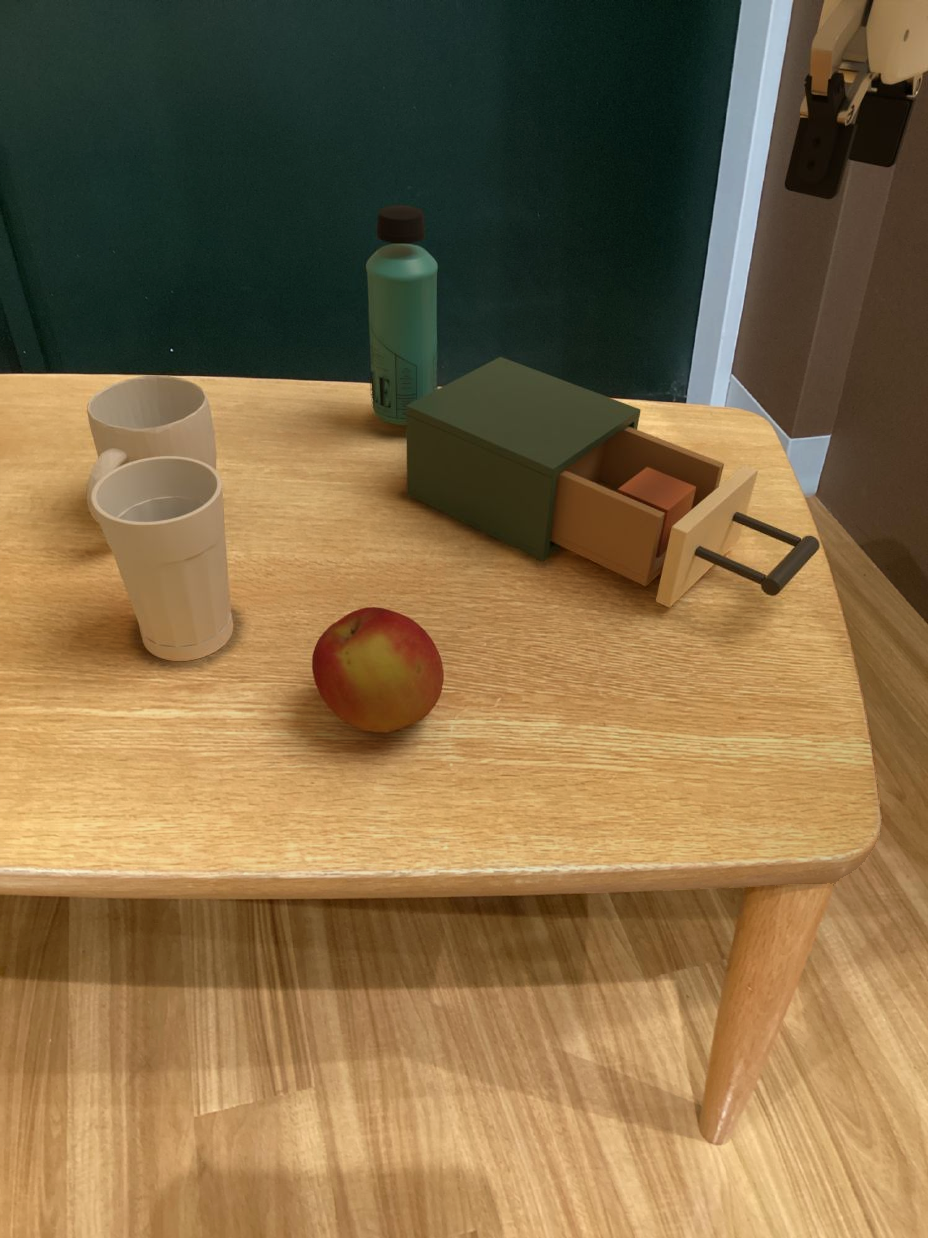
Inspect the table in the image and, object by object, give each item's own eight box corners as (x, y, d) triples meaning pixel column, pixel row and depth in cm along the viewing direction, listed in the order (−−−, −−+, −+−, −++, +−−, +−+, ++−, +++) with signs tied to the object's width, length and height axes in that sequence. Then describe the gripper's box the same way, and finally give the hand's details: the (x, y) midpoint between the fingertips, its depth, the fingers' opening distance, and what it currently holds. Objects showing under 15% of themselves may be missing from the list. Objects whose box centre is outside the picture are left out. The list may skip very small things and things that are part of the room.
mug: (156, 472, 82) (133, 366, 75) (244, 493, 80) (229, 386, 73) (61, 550, 73) (26, 438, 66) (159, 577, 71) (132, 463, 64)
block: (686, 533, 74) (696, 486, 71) (658, 557, 71) (668, 510, 68) (638, 512, 76) (647, 466, 73) (609, 535, 73) (617, 488, 70)
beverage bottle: (450, 419, 91) (455, 206, 78) (412, 447, 87) (411, 227, 74) (396, 401, 94) (392, 192, 81) (356, 427, 89) (346, 211, 76)
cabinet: (625, 497, 81) (641, 409, 76) (542, 562, 74) (552, 468, 68) (495, 441, 88) (500, 356, 82) (406, 495, 80) (405, 405, 75)
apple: (388, 657, 65) (385, 566, 59) (464, 722, 60) (468, 630, 55) (296, 707, 61) (285, 614, 56) (371, 781, 56) (366, 687, 51)
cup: (263, 607, 68) (243, 467, 60) (212, 679, 62) (183, 534, 55) (166, 587, 70) (134, 447, 62) (108, 655, 64) (64, 510, 56)
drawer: (817, 574, 72) (843, 501, 68) (752, 648, 65) (776, 572, 61) (599, 481, 81) (610, 411, 77) (523, 537, 75) (529, 464, 70)
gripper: (963, -186, 40) (846, 222, 51) (1060, -174, 51) (945, 163, 62) (801, -189, 44) (724, 193, 55) (923, -178, 54) (837, 142, 65)
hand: (841, 177), depth 58 cm, fingers open, 9 cm apart
